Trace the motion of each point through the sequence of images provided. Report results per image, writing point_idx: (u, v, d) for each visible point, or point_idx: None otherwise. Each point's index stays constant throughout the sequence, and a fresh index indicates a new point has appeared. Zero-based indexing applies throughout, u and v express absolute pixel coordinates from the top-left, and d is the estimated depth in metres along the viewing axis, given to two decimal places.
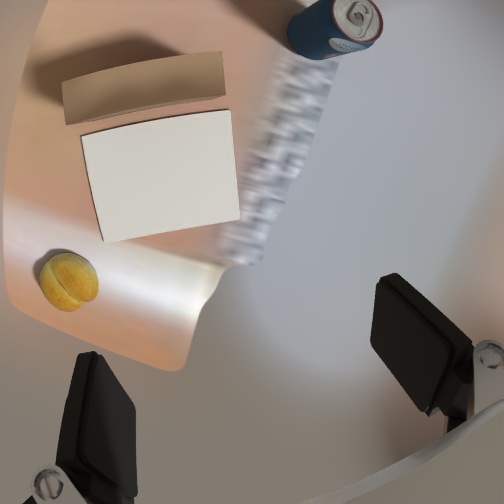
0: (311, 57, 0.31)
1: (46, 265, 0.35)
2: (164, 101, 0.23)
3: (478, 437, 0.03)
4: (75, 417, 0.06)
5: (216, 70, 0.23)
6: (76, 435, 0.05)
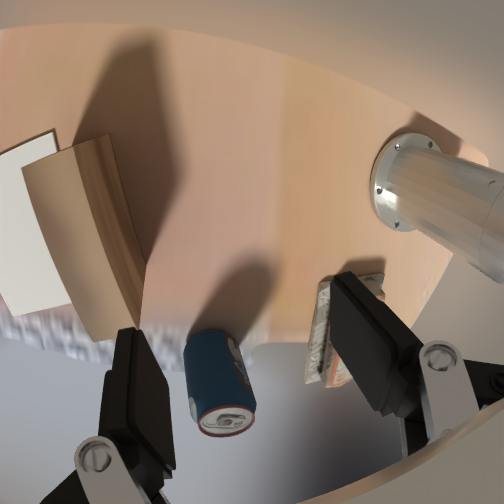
0: (184, 359, 0.35)
1: None
2: (66, 287, 0.19)
3: (478, 437, 0.03)
4: (122, 387, 0.07)
5: (115, 331, 0.21)
6: (125, 403, 0.06)
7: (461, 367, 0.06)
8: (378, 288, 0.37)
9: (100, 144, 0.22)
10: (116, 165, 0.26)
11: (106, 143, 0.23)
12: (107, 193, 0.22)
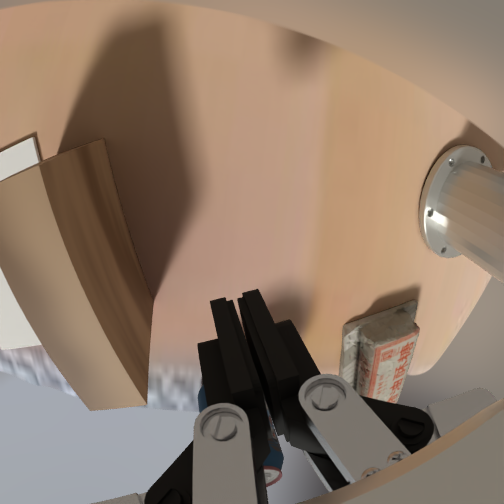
0: (198, 403, 0.29)
1: None
2: (49, 353, 0.13)
3: (478, 437, 0.03)
4: (237, 351, 0.08)
5: (117, 402, 0.15)
6: (246, 365, 0.07)
7: (354, 397, 0.06)
8: (411, 322, 0.30)
9: (89, 154, 0.16)
10: (113, 179, 0.20)
11: (99, 152, 0.18)
12: (98, 222, 0.16)
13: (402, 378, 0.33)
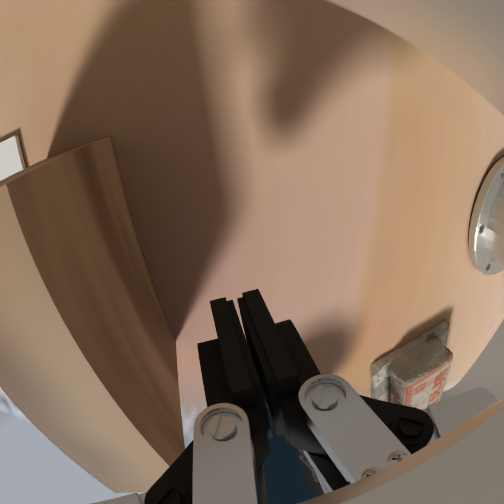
0: None
1: None
2: (57, 445, 0.08)
3: (478, 437, 0.03)
4: (237, 351, 0.08)
5: None
6: (246, 365, 0.07)
7: (353, 397, 0.06)
8: (443, 350, 0.25)
9: (92, 159, 0.11)
10: (123, 192, 0.16)
11: (105, 155, 0.13)
12: (110, 261, 0.11)
13: (438, 399, 0.28)
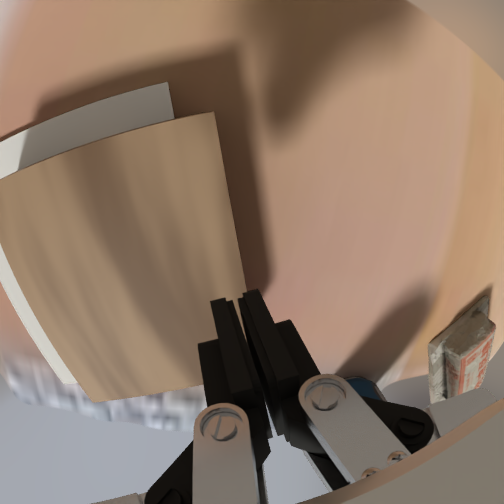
0: None
1: None
2: None
3: (478, 437, 0.03)
4: (237, 351, 0.08)
5: None
6: (246, 365, 0.07)
7: (354, 397, 0.06)
8: (487, 322, 0.26)
9: (110, 153, 0.11)
10: (221, 189, 0.12)
11: (164, 142, 0.11)
12: (98, 249, 0.12)
13: (485, 365, 0.29)
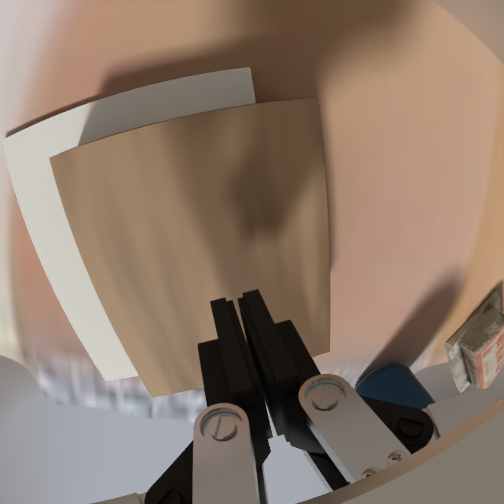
0: None
1: None
2: None
3: (478, 437, 0.03)
4: (237, 351, 0.08)
5: None
6: (246, 365, 0.07)
7: (353, 397, 0.06)
8: (499, 317, 0.27)
9: (215, 126, 0.11)
10: (319, 171, 0.13)
11: (271, 121, 0.11)
12: (191, 227, 0.13)
13: (503, 351, 0.30)
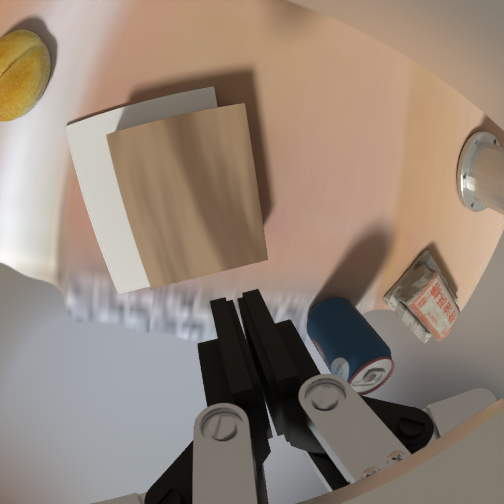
0: (310, 327, 0.37)
1: (35, 39, 0.17)
2: None
3: (478, 437, 0.03)
4: (237, 351, 0.08)
5: None
6: (246, 365, 0.07)
7: (354, 397, 0.06)
8: (428, 271, 0.38)
9: (191, 120, 0.22)
10: (247, 141, 0.24)
11: (220, 116, 0.22)
12: (179, 171, 0.23)
13: (448, 302, 0.41)
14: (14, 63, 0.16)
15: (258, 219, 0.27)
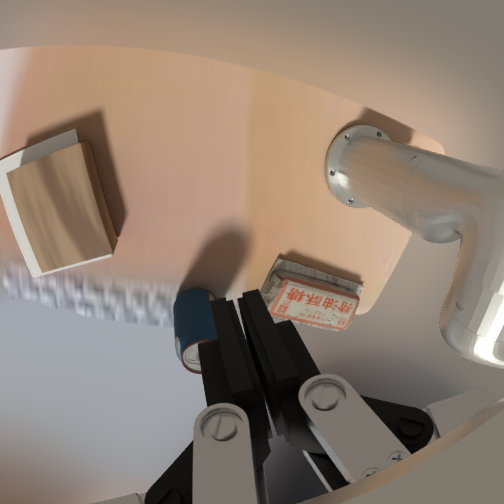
0: None
1: None
2: None
3: (478, 437, 0.03)
4: (237, 351, 0.08)
5: None
6: (246, 365, 0.07)
7: (353, 397, 0.06)
8: (278, 281, 0.45)
9: (49, 159, 0.29)
10: (84, 169, 0.31)
11: (66, 154, 0.29)
12: (46, 194, 0.30)
13: (326, 298, 0.47)
14: None
15: (100, 224, 0.34)
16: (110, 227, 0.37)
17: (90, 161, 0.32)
